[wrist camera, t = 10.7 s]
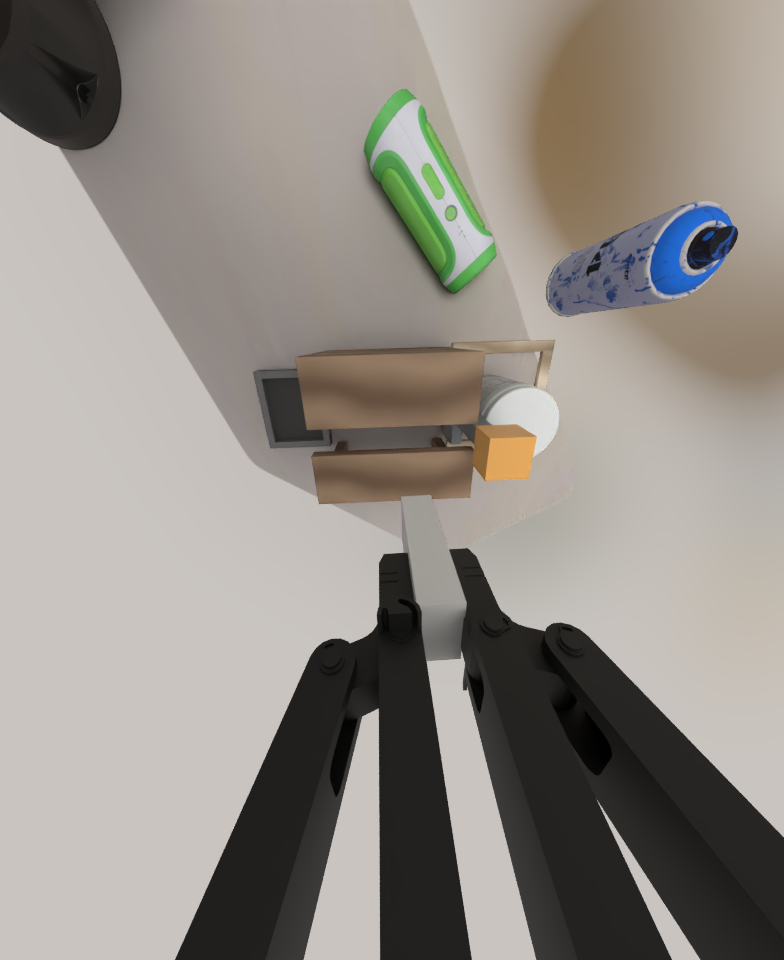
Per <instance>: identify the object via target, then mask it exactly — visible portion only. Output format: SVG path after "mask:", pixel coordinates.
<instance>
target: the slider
mask: <svg viewBox="0 0 784 960" xmlns="http://www.w3.org/2000/svg"><path fill="white" fill-rule="evenodd" d="M462 432H463V433H464V434H465V435H466V436H467V437H468V438H469V439H470V440H471V442H472V443H473V444H474V451H473V461H472V464H473V465H474V467H475V468H476V469H477V471H478V472H479V473H480V475H481V476H482V477H483V479H484V480H485V481H491V480H515V479H529V474H530V469H531V464H532V459H533V454H534V449H535V444H536V439H537V436H535V435H533V434H532V433H530V432H529V431H527V430H525V429H524V428H522V427H521V426H519V425H517V424H509V425H492V424H491V423H489V422H488V421H487V420H485V419H484V418H483V417H481V416H480V415H479V416H478V424H456V425H444V429H443V434H444V435H445V436H446V438H447V439H448V441H449V442H450V444H451V445H456V444H461V435H462Z"/></svg>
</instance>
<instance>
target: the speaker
mask: <svg viewBox="0 0 784 960" xmlns="http://www.w3.org/2000/svg"><path fill="white" fill-rule="evenodd" d="M364 152H365V156H366V158H367V161H368V164H369V167H370V169H371V171H372V173H373V176H374V177H375V179H376V180H377V181H379V182H380V183H381V184H382V188H383V189H384V191H385V192H386V194H387V196H388V197H389V199H390V200H391V202H392V203H393V205H394V207H395V208H396V210H397V211H398V213H399V214H400V216H401V218H402V219H403V221H404V222H405V224H406V225H407V227H408V229H409V230H410V232H411V233H412V235H413V236H414V238H415V240H416V241H417V243H418V244H419V246H420V247H421V249H422V251H423V252H424V254H425V255H426V257H427V259H428V260H429V262H430V263H431V265H432V266H433V268H434V270H435V271H436V273H438V274H439V276H440V281H441V283H442V284H443V285H444V286H445V287H446V288H447V289H448V290H449V291H451V292H452V293H453V294H455V293H457V292H458V291H459V290H460V289H462V288H463V287H464V286H465V285H466V284H468V283H469V282H470V281H471V280H472V279H473V278H474V277H475V276H477V275H478V274H479V273H480V272H481V271H482V270H483V269H484V268H485V267H486V266H487V265H488V264H489V263H490V262H491V261H492V260H493V259H494V258H495V257H496V249H495V244H494V241H493V238H492V235H491V233H490V232H489V231H487V230H486V229H485V225H484V223H483V221H482V219H481V217H480V215H479V214H478V212H477V210H476V208H475V206H474V204H473V202H472V200H471V199H470V197H469V195H468V193H467V191H466V189H465V188H464V186H463V184H462V182H461V180H460V178H459V176H458V175H457V173H456V171H455V169H454V167H453V165H452V163H451V162H450V160H449V158H448V156H447V154H446V152H445V150H444V149H443V147H442V145H441V143H440V141H439V139H438V137H437V135H436V134H435V132H434V130H433V128H432V126H431V124H430V123H429V122H427V117H426V112H425V109H424V108H423V106H422V105H421V104H420V102H419V101H418V100H417V99H416V98H415V97H414V96H413V95H412V94H411V93H410V92H409V91H408V90H407V89H402V90H400V91H398V92H397V93H395V94H394V95H393V96H392V97H391V98H390V99H389V100H388V102H387V103H386V104H385V105H384V107H383V108H382V109H381V111H380V112H379V114H378V116H377V117H376V119H375V121H374V122H373V124H372V126H371V129H370V131H369V133H368V136H367V138H366V142H365V147H364Z"/></svg>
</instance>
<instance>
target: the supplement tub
mask: <svg viewBox="0 0 784 960" xmlns="http://www.w3.org/2000/svg"><path fill="white" fill-rule="evenodd" d="M479 415H480V416H481V417H483V418H484V419H485V420H487V421H488V422H489V423H491V424H492V425H509V424H517V425H519V426H521V427H522V428H524V429H525V430H527V431H529V432H530V433H532V434H533V435H535V436H537V439H536V444H535V449H534V454H533V457H534V456H535V455H537V454H539V453H540V452H541V451H543V450H544V449H545V448H546V447H547V446H548V445H549V443H550V442H551V441H552V439H553V437H554V436H555V434H556V431H557V428H558V424H559V411H558V407H557V404H556V402H555V400H554V399H553V398H552V396H551V395H549V394H548V393H547V392H545V391H543V390H541V389H540V388H538V387H536V386H532V385H529V384H525V383H522V382H518V381H514V380H510V379H506V378H502V377H498V376H494V375H483V379H482V388H481V397H480V407H479Z"/></svg>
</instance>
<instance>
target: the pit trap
mask: <svg viewBox="0 0 784 960" xmlns="http://www.w3.org/2000/svg"><path fill="white" fill-rule="evenodd" d="M253 374H254V378H255V383H256V387H257V392H258V396H259V400H260V405H261V409H262V414H263V418H264V422H265V427H266V431H267V436H268V440H269V445H270V448H292V447H318V446H331V444H332V436H331V429H322V430H307V427H306V421H305V415H304V409H303V403H302V396H301V390H300V384H299V378H298V372H297V369H292V370H261V371H255V372H253Z"/></svg>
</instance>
